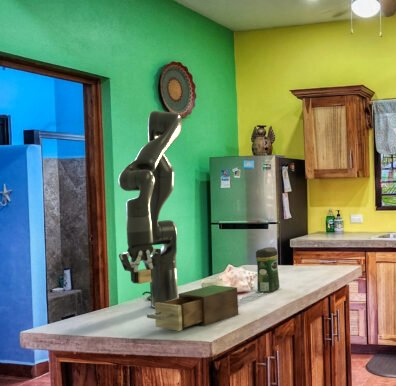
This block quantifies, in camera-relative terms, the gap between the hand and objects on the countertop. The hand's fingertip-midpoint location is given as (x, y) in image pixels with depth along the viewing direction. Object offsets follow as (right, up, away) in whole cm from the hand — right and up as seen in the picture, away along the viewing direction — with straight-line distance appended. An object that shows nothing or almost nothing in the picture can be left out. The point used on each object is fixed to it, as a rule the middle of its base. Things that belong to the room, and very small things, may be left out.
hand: (142, 281), depth 160 cm
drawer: (+13, -14, -2) cm, 19 cm away
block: (0, 0, 0) cm, 0 cm away
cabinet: (+19, -14, +8) cm, 25 cm away
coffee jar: (+30, -13, +49) cm, 59 cm away
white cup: (+15, -14, +25) cm, 32 cm away
